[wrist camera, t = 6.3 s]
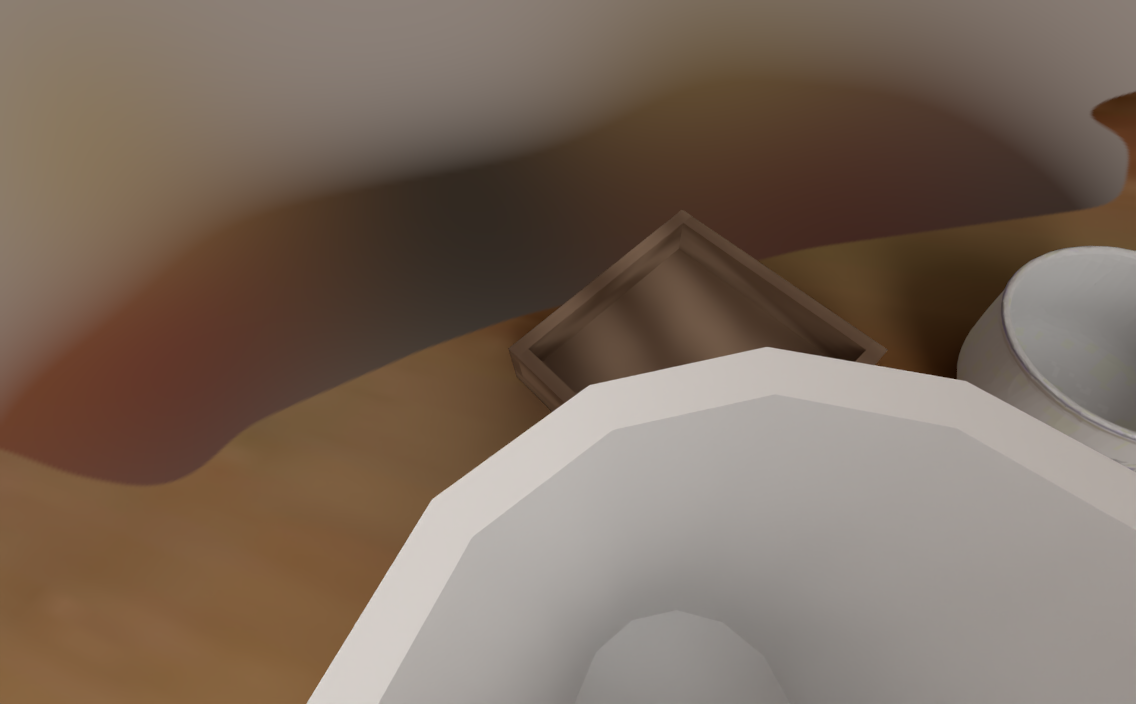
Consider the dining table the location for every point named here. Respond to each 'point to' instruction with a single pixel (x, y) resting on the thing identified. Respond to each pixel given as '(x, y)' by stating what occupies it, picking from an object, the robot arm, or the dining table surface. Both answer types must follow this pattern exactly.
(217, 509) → the dining table surface
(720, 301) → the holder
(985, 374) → the teacup
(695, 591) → the foam cup
